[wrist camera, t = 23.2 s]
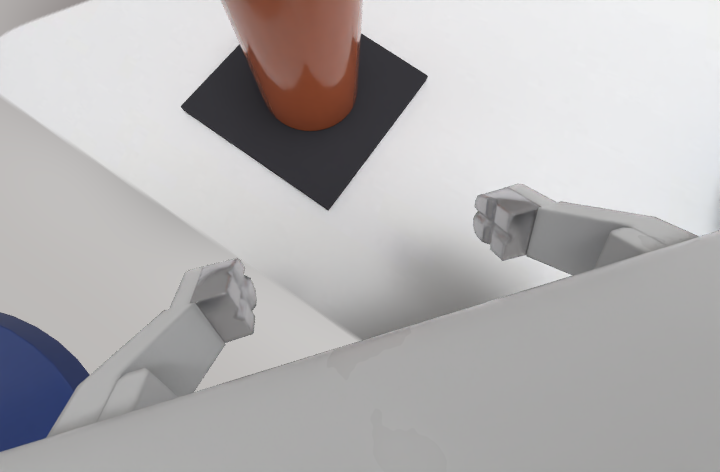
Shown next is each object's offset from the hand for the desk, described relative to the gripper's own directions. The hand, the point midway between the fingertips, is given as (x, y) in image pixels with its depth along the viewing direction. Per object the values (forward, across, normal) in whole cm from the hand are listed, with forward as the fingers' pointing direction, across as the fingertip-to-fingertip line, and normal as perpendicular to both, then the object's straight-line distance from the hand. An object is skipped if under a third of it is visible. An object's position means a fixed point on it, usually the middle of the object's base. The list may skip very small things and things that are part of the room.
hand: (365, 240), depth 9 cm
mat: (+14, 0, -3) cm, 15 cm away
